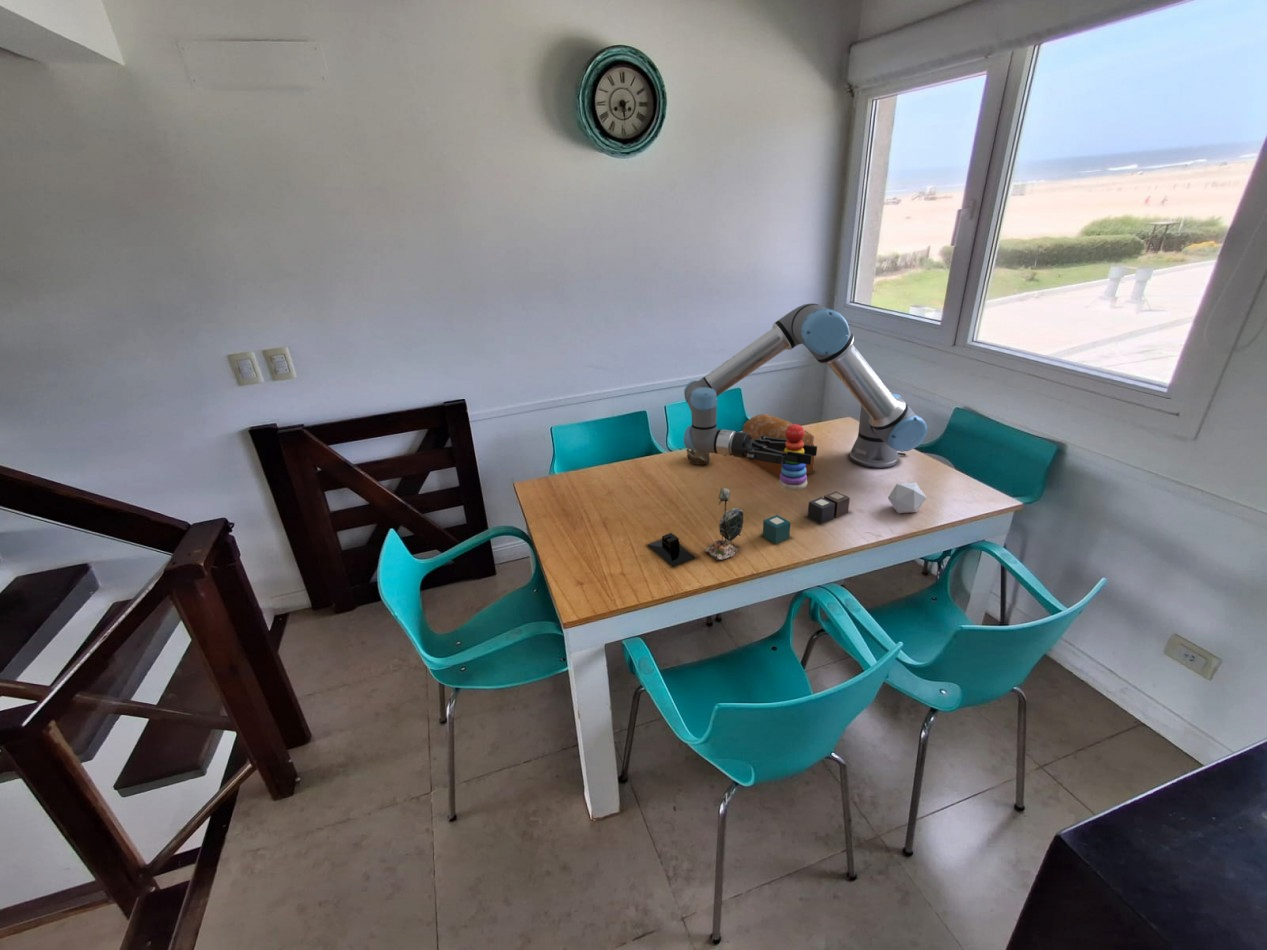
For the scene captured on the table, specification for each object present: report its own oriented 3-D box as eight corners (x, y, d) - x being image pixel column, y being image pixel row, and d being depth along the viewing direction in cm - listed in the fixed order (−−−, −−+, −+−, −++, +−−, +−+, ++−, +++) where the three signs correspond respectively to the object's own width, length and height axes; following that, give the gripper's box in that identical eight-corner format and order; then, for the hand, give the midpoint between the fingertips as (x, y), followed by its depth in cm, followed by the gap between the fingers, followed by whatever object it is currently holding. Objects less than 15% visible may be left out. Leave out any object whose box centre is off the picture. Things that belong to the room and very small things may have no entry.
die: (919, 523, 154) (937, 491, 153) (891, 508, 154) (909, 476, 153) (904, 518, 162) (921, 488, 162) (877, 504, 162) (894, 473, 161)
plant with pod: (752, 551, 146) (754, 483, 137) (715, 564, 142) (715, 494, 133) (734, 537, 152) (735, 471, 144) (699, 549, 148) (697, 482, 140)
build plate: (647, 546, 152) (646, 531, 150) (670, 537, 155) (669, 523, 153) (673, 567, 142) (672, 551, 140) (696, 557, 145) (695, 542, 143)
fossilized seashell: (681, 451, 202) (687, 466, 194) (691, 437, 199) (697, 452, 191) (698, 458, 205) (705, 473, 197) (708, 444, 202) (715, 459, 194)
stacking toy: (809, 481, 163) (813, 421, 155) (804, 493, 157) (809, 431, 149) (781, 478, 166) (785, 419, 158) (776, 489, 160) (779, 428, 152)
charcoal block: (820, 511, 162) (821, 496, 159) (833, 518, 158) (835, 503, 155) (807, 517, 159) (808, 501, 157) (821, 524, 156) (822, 508, 153)
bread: (784, 482, 180) (787, 437, 173) (736, 455, 201) (737, 414, 195) (817, 472, 185) (821, 428, 178) (767, 447, 207) (769, 406, 200)
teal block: (776, 530, 154) (777, 514, 152) (789, 538, 150) (790, 521, 148) (762, 536, 152) (763, 519, 150) (775, 544, 148) (776, 527, 146)
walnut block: (834, 505, 164) (836, 490, 162) (848, 512, 160) (850, 496, 158) (822, 510, 162) (823, 495, 160) (836, 517, 158) (837, 501, 156)
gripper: (744, 444, 174) (820, 455, 163) (722, 467, 160) (804, 481, 149) (745, 421, 171) (822, 431, 160) (722, 443, 157) (806, 455, 146)
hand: (813, 455), depth 154 cm, fingers closed on stacking toy, 6 cm apart
